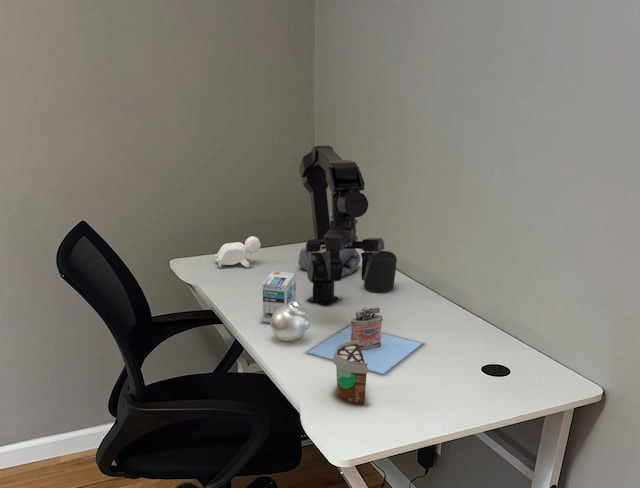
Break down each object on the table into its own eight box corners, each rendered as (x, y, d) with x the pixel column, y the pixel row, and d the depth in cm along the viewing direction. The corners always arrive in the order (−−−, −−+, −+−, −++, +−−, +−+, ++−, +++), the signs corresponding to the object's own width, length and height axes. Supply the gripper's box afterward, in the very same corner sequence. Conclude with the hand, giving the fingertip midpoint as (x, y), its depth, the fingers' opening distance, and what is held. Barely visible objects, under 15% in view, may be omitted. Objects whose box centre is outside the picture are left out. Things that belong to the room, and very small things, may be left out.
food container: (328, 381, 153) (330, 339, 148) (356, 380, 153) (358, 339, 148) (335, 409, 142) (336, 365, 137) (365, 408, 142) (367, 364, 138)
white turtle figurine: (224, 278, 222) (267, 258, 222) (213, 254, 218) (257, 234, 218) (221, 270, 229) (263, 251, 230) (210, 247, 225) (253, 227, 225)
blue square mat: (350, 326, 180) (350, 325, 180) (421, 344, 171) (421, 343, 171) (308, 353, 165) (308, 352, 165) (382, 374, 156) (382, 373, 156)
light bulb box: (287, 325, 181) (287, 285, 176) (262, 322, 182) (261, 283, 177) (296, 310, 190) (296, 272, 185) (272, 308, 191) (272, 270, 186)
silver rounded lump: (301, 349, 167) (301, 310, 163) (265, 343, 170) (264, 305, 165) (314, 335, 175) (314, 298, 170) (279, 330, 178) (279, 293, 173)
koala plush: (294, 268, 222) (294, 206, 213) (336, 258, 232) (338, 198, 223) (330, 282, 210) (332, 218, 201) (373, 271, 221) (376, 209, 212)
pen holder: (401, 288, 207) (403, 255, 202) (381, 296, 201) (383, 262, 196) (376, 280, 212) (378, 248, 208) (356, 288, 206) (357, 255, 202)
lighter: (353, 352, 165) (355, 313, 161) (347, 347, 168) (348, 308, 164) (383, 347, 168) (386, 308, 164) (377, 342, 171) (379, 303, 166)
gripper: (295, 218, 166) (298, 284, 171) (370, 217, 159) (371, 285, 164) (313, 216, 176) (315, 278, 180) (384, 214, 169) (385, 278, 173)
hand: (345, 280), depth 174 cm, fingers open, 9 cm apart
